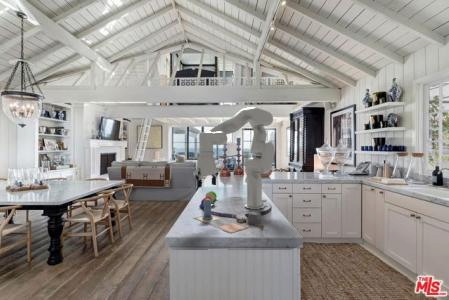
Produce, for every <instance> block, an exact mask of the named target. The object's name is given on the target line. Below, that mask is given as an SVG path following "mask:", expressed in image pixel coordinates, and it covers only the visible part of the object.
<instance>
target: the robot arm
mask: <svg viewBox="0 0 449 300" xmlns="http://www.w3.org/2000/svg"><path fill="white" fill-rule="evenodd" d="M273 122H274V116H273V114H272V113H271V112H270V111H268V110H264V109H261V108H259V107H254V106H253V107H246V108H242V109H240V110H238V111H237V112H236V113H234V115H233V116H231V117H230V118H228V119H227V120H225V121H224V122H221V123H219V124H217V125H215V126H214V127H211V129H210V130H209V131H202V132H199V134H198V141H199V142H198V148H199V151H198V152H199V157H197V162H196V169H195V170H194V171H192V174H193V176H194V178H195V179H196V184H197V185H196V186H197V187H198V188H202V187H203V184H202V183H203V182H202V181H203V180H202V178H203V177H206V176H207V177H208V176H211V185H212V186H216V185H217V178H218V176H219V174H220V168H217V167H216V159H215V156H214V155H216V154H215V152H214V146H222V145H225V144H226V143H227V141H228V135H230V134H234V133H236V132H238V131H239V130H241V128H242V127H244V126H245V125H246V124H248V123H249V124H250V126H251V129H252V131H253V137H252V140H251V146H250V153H251V154H252V155H253V156H255V157H253V156H252V157H248V158H247V159H246V160H245V162H244V170H245V174H246V175H245V176H246V203H245V204H244V208H245V207H246V208H245V209H247V208H250V209H249V210H261V209H260V208H262V209H265V205H264V203H267V202H268V201H267V199H263V184H262V183H263V180H262V175H261V174H264V175H266V174H268V173H270V172H271V170H272V168H273V167H272V166H273V161H274V157H275V156H274V155H275V151H276V150H275V149H276V148H275V145H274V143H273V142H272V141H269V140H267V138H268V137H267V136H268V134H267V133H268V132H267V130H266V128H265V127H268V126H270V125H271V124H273Z"/></svg>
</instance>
